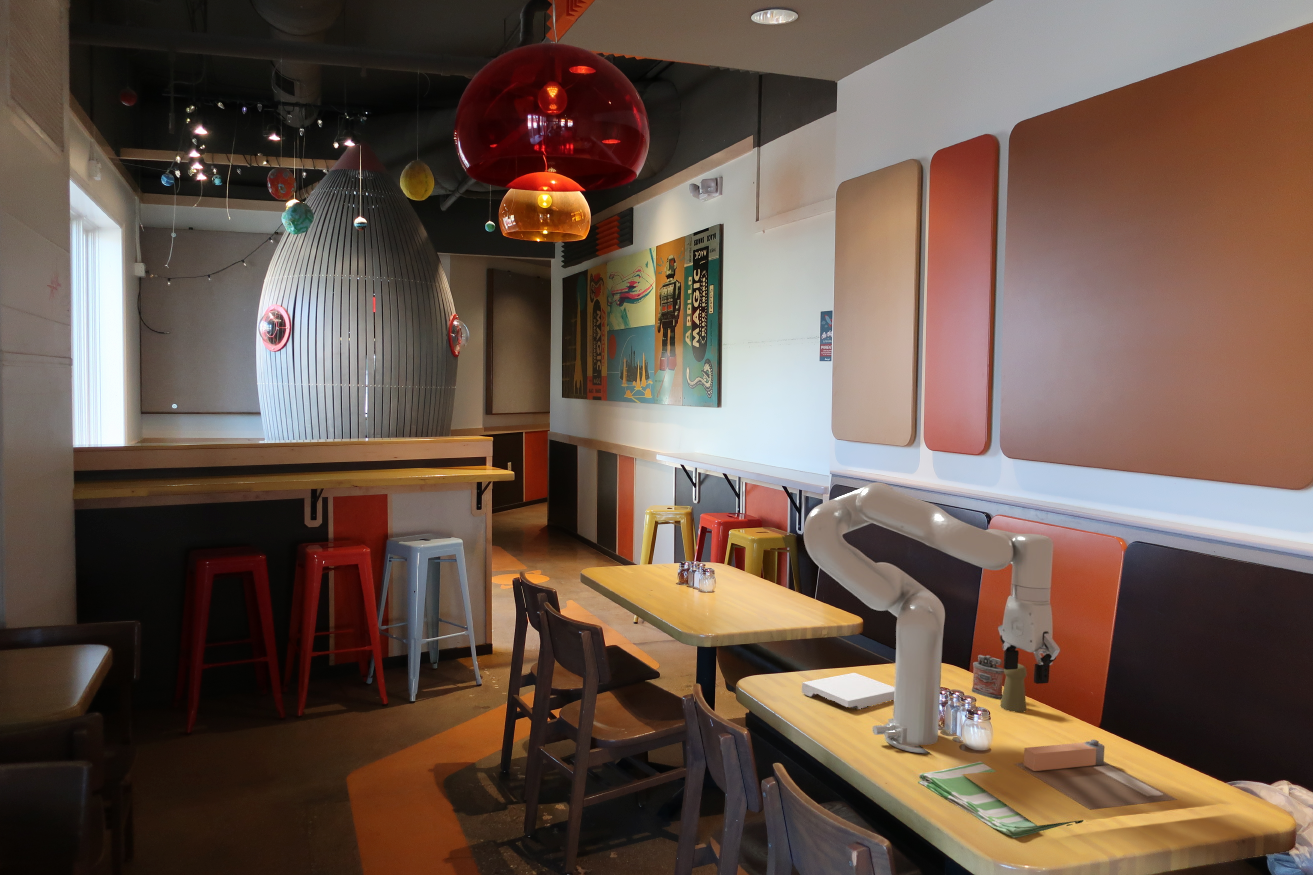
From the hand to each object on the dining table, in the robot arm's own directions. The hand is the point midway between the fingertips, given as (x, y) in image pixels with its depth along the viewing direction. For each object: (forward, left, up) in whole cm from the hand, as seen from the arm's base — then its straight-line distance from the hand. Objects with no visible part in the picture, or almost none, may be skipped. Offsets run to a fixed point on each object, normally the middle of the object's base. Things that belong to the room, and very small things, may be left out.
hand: (1025, 675), depth 176 cm
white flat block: (-16, +43, -19) cm, 49 cm away
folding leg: (+5, -7, -16) cm, 18 cm away
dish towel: (-18, -15, -19) cm, 30 cm away
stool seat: (+5, -14, -18) cm, 23 cm away
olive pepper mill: (+21, +28, -18) cm, 39 cm away
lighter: (+21, +38, -18) cm, 47 cm away
